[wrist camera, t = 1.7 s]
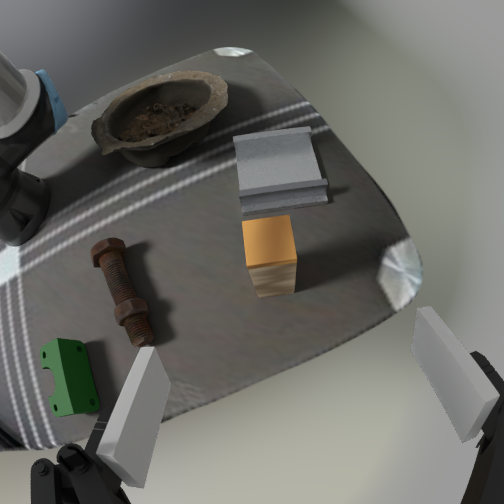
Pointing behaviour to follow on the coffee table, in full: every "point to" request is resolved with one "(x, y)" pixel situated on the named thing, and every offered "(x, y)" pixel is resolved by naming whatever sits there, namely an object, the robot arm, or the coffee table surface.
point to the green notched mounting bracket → (70, 377)
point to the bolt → (122, 291)
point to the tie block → (270, 255)
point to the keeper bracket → (278, 171)
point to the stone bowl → (160, 116)
